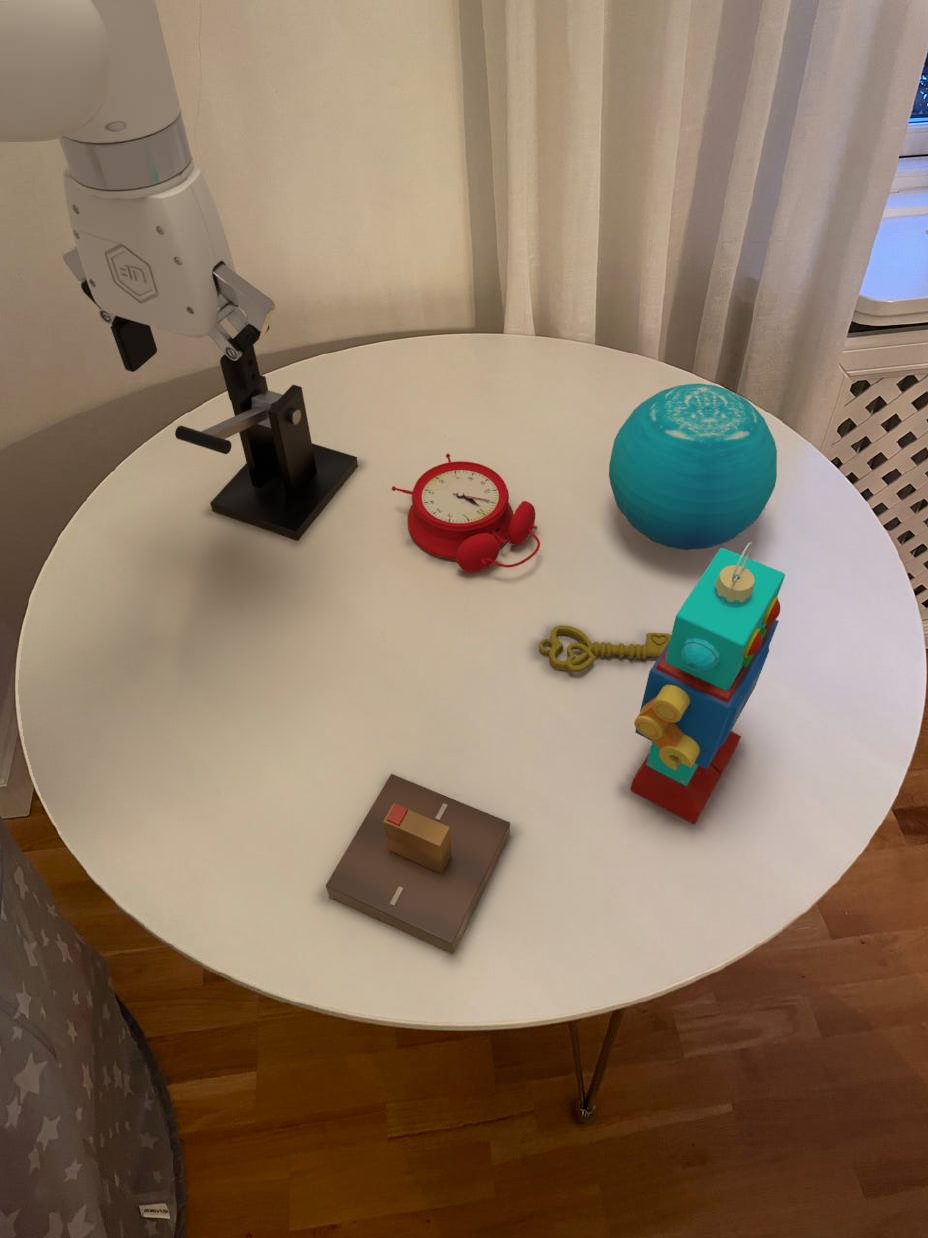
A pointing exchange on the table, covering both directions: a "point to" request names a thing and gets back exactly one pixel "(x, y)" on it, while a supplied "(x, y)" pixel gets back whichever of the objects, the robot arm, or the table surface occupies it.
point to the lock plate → (420, 867)
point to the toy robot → (706, 681)
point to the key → (597, 648)
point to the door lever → (231, 425)
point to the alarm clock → (467, 515)
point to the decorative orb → (693, 466)
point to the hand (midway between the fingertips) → (193, 377)
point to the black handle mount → (282, 470)
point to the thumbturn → (418, 838)
